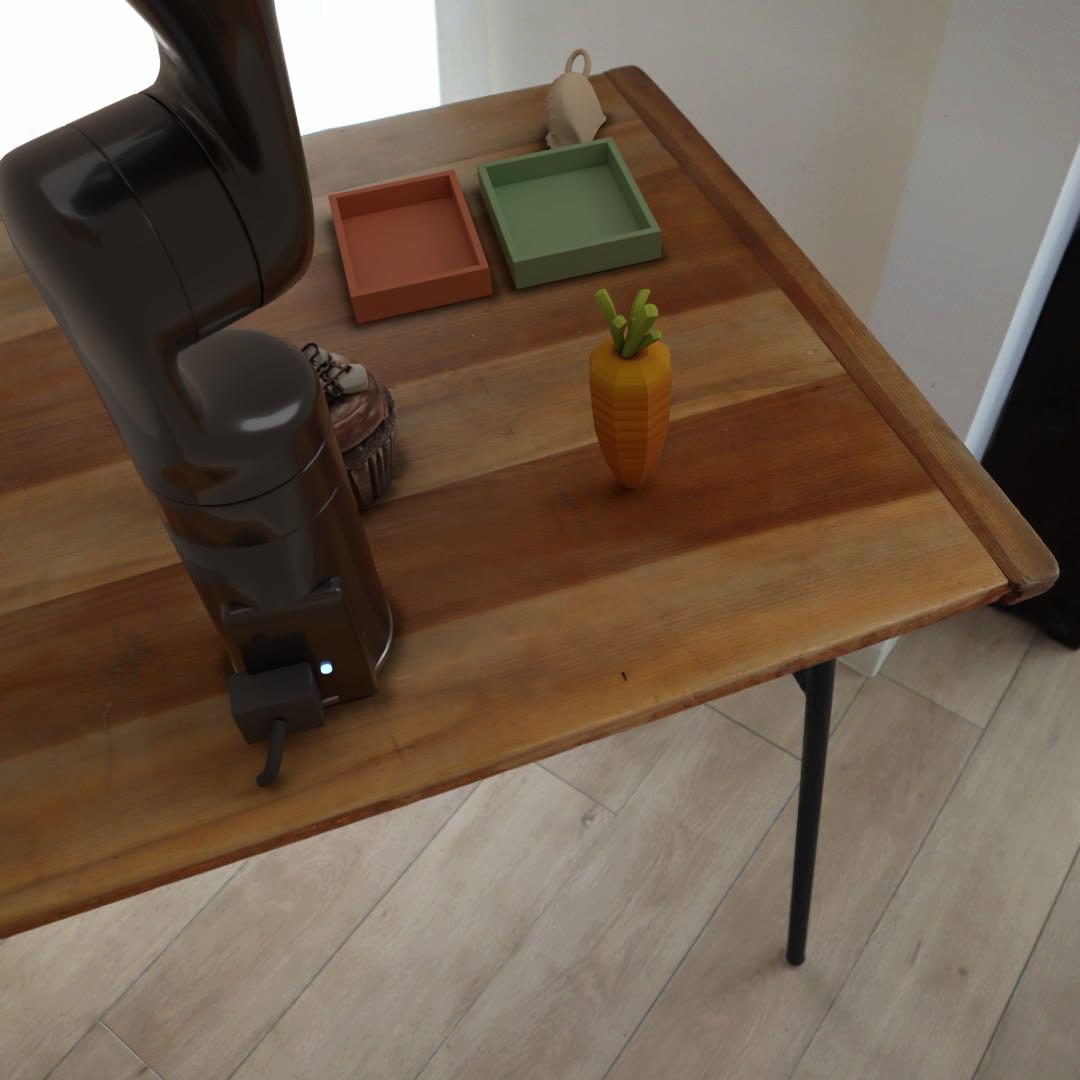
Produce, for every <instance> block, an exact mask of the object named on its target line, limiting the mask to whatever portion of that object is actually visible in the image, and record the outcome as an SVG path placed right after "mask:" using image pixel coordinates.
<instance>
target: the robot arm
mask: <svg viewBox="0 0 1080 1080" xmlns="http://www.w3.org/2000/svg"><path fill="white" fill-rule="evenodd" d="M124 2H126V4H128V6H129V7H131V8H132V10H133V11H134V12H135V13H137V14H138V16H139V17H141V19H143V21H144V22H145V23H146V24H147V25H148V26H149V27H150V29H151V32H152V33H153V37H154V39H155V42H156V46H157V52H158V57H159V58H158V59H159V69H158V74H157V76H156V79H155V80H154V81H153V83H152V84H151V85H149V86H147V87H146V88H145V89H143V90H140V91H138V92H137V93H133V94H131V95H128V96H126V97H124V98H122V99H120V100H118V101H115V102H113V103H111V104H108V105H106V106H104V107H102V108H99V109H97V110H95V111H93V112H89V113H87V114H86V115H84V116H82V117H79V118H76V119H75V120H72V121H69V122H68V123H66V124H65V125H62V126H59V127H56V128H55V129H52V130H51V131H48V132H46V133H44V134H42V135H39V136H37V137H34V138H32V139H31V140H28V141H27V142H24V143H23V144H21V145H19V146H16V147H14V148H13V149H11V150H9V151H8V152H7V153H5V154H4V155H3V156H2V158H0V215H1V219H2V221H3V222H2V223H3V226H4V229H5V230H6V232H7V235H8V237H9V240H10V242H11V244H12V246H13V249H14V250H15V252H16V254H17V256H18V257H19V259H20V261H21V263H22V266H23V267H24V268H25V271H26V272H27V274H28V276H29V278H30V280H31V281H32V283H33V285H34V286H35V288H36V290H37V291H38V293H39V295H40V296H41V298H42V300H43V301H44V303H45V305H46V306H47V308H48V310H49V311H50V312H51V313H50V314H52V316H53V318H54V320H55V321H56V323H57V325H58V326H59V328H60V330H61V331H62V333H63V335H64V336H65V338H66V339H67V341H68V343H69V345H70V347H71V348H72V350H73V352H74V353H75V355H76V357H77V359H78V360H79V362H80V364H81V366H82V367H83V369H84V371H85V373H86V375H87V377H88V379H89V381H90V383H91V384H92V386H93V389H94V390H95V393H96V394H97V396H98V398H99V400H100V403H101V404H102V406H103V407H104V409H105V412H106V413H107V416H108V417H109V419H110V421H111V423H112V425H113V427H114V429H115V430H116V432H117V434H118V436H119V438H120V440H121V442H122V444H123V446H124V448H125V450H126V453H127V454H128V456H129V458H130V460H131V462H132V464H133V466H134V468H135V470H136V473H137V474H138V476H139V478H140V480H141V481H142V484H143V485H144V487H145V490H146V492H147V494H148V496H149V498H150V500H151V502H152V504H153V506H154V507H155V510H156V511H157V512H156V513H157V514H158V516H159V518H160V520H161V522H162V524H163V526H164V528H165V531H166V532H167V534H168V536H169V538H170V540H171V542H172V545H173V547H174V548H175V550H176V552H177V554H178V556H179V558H180V560H181V563H182V564H183V566H184V568H185V570H186V572H187V574H188V577H189V578H190V580H191V583H192V584H193V587H194V588H195V590H196V593H197V594H198V596H199V598H200V600H201V602H202V605H203V606H204V608H205V611H206V612H207V614H208V617H209V619H210V621H211V622H212V624H213V627H214V628H215V631H216V632H217V634H218V637H219V638H220V640H221V642H222V644H223V646H224V648H225V650H226V652H227V654H228V655H229V658H230V660H231V665H232V667H233V670H234V672H235V673H231V674H228V676H227V681H228V692H229V693H228V694H229V704H230V705H229V706H230V715H231V717H232V719H233V721H234V723H235V725H236V726H237V728H238V730H239V732H240V734H241V735H242V737H243V739H244V742H245V744H247V746H249V745H254V744H257V743H261V742H266V741H269V742H268V743H269V744H268V750H267V758H266V762H265V765H264V768H263V771H262V772H260V774H258V775H257V776H256V779H255V783H256V785H257V786H258V787H260V788H267V787H268V786H270V785H271V784H273V783H274V782H275V781H276V780H277V777H278V774H279V771H280V768H281V765H282V759H283V754H284V748H285V747H284V746H285V737H286V736H290V735H293V734H297V733H301V732H305V731H309V730H314V729H317V728H321V727H322V728H323V727H325V726H326V720H325V719H326V718H325V713H324V708H326V707H330V706H333V705H335V704H339V703H343V702H347V701H351V700H355V699H359V698H363V697H368V696H371V695H375V694H376V693H377V692H378V691H379V688H378V687H379V686H378V682H377V681H378V679H377V678H378V677H377V676H378V674H379V673H380V672H381V670H382V669H383V668H384V667H385V664H386V663H387V661H388V659H389V657H390V655H391V653H392V649H393V647H394V642H395V641H394V640H395V622H394V617H393V613H392V610H391V607H390V604H389V602H388V600H387V599H386V596H385V593H384V589H383V586H382V583H381V579H380V575H379V573H378V571H377V567H376V564H375V560H374V558H373V553H372V550H371V547H370V544H369V540H368V538H367V537H368V536H367V533H366V531H365V528H364V527H365V526H364V524H363V521H362V518H361V517H362V516H361V514H360V511H359V510H358V507H357V504H356V500H355V497H354V494H353V490H352V487H351V484H350V480H349V477H348V474H347V470H346V467H345V464H344V460H343V457H342V453H341V449H340V446H339V442H338V439H337V436H336V432H335V429H334V426H333V422H332V419H331V416H330V412H329V409H328V405H327V402H326V398H325V395H324V391H323V388H322V385H321V382H320V379H319V376H318V374H317V371H316V370H315V368H314V366H313V364H312V363H311V362H310V360H309V359H308V358H307V356H306V355H305V354H304V353H303V352H302V351H301V350H300V349H301V348H300V347H298V346H297V345H296V344H295V343H293V342H291V341H289V340H287V339H286V338H284V337H282V336H280V335H278V334H275V333H271V332H270V331H269V332H268V331H265V330H261V329H255V328H247V327H229V326H231V325H233V324H235V323H236V322H238V321H239V320H242V319H244V318H245V317H247V316H249V315H251V314H252V313H255V312H256V311H257V310H259V309H262V308H264V307H266V306H268V305H269V304H271V303H272V302H274V301H276V300H278V299H279V298H280V297H282V296H283V295H284V294H286V293H288V292H289V291H290V290H291V289H292V288H294V286H296V285H297V284H298V283H299V282H300V280H302V279H303V277H304V276H305V275H306V274H307V272H308V270H309V269H310V266H311V262H312V260H313V257H314V251H315V244H316V243H315V242H316V241H315V239H316V224H315V223H316V222H315V210H314V202H313V201H314V200H313V195H312V189H311V183H310V182H311V181H310V177H309V173H308V172H309V171H308V167H307V160H306V155H305V150H304V145H303V141H302V135H301V131H300V126H299V120H298V114H297V110H296V105H295V101H294V95H293V91H292V86H291V80H290V76H289V71H288V65H287V62H286V56H285V50H284V47H283V42H282V36H281V30H280V25H279V20H278V14H277V9H276V2H275V0H124Z"/></svg>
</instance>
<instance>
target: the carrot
mask: <svg viewBox="0 0 1080 1080" xmlns="http://www.w3.org/2000/svg"><path fill="white" fill-rule="evenodd" d="M650 294H651V290H650V289H648V288H642V289H640V290H639V291H638V292H637V295H636V296H635V298H634V300H633V303H632V305H631V309H630V313H629V316H628V320H626V318H625V317H624V316H623V315H622V314H619V315H617V312H616V308H615V305H614V303H613V301H612V299H611V297H610V294H609V293H608V292H607V290H606V288H601V289H599V290H598V291H596V292H595V294H594V297H595V299H596V301H597V303H598V305H599V307H600V309H601V311H602V312H603V315H604V317H605V320H606V322H607V324H608V326H609V331H610V332H609V333H610V335H611V336H609V337H608V338H606V339H605V340H603V341H602V342H601V343H599V344H598V345H596V346H595V347H593V348H592V349H591V350H590V353H589V374H588V375H589V378H588V380H589V384H588V385H589V392H590V405H591V412H592V419H593V426H594V427H593V428H594V431H595V435H596V438H597V442H598V446H599V448H600V451H601V453H602V454H601V455H602V456H603V458H604V461H605V463H606V465H607V466H608V468H609V470H610V471H611V472H612V474H613V475H614V476H615V477H616V479H618V481H620V482H621V484H623V485H624V486H625V487H626V488H627V489H629V490H630V489H638V488H640V486H642V485H644V483H645V482H646V480H647V479H648V478H649V477H650V475H651V474H652V473H653V472H654V470H655V468H656V467H657V465H658V463H659V461H660V459H661V456H662V453H663V450H664V447H665V444H666V440H667V435H668V430H669V428H670V427H669V426H670V416H671V415H670V414H671V406H672V405H671V403H672V402H671V401H672V382H673V381H672V377H673V376H672V361H671V360H672V359H671V352H670V349H669V347H668V346H667V345H666V344H664V343H662V342H661V341H659V340H661V339H662V338H663V334H662V332H661V331H659V330H652V331H650V329H652V326H653V325H654V324H655V322H656V321H657V320H658V317H659V308H657V306H656V304H652V303H647V304H646V302H647V300H648V297H649V296H650ZM626 327H627V332H625V330H626ZM649 331H650V332H649Z"/></svg>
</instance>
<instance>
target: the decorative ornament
mask: <svg viewBox="0 0 1080 1080" xmlns="http://www.w3.org/2000/svg"><path fill="white" fill-rule="evenodd" d="M579 56H582V57H583V59H584V66H583V70H582V72H581V73H580V72H577V71H572V68H573V65H574V62H575V60H576V59H577V57H579ZM591 72H592V58H591V55H590V53H589V52H588V51H587V49H585V48H583V47H582V48H576V49H574V50H573V51H572V52H571V53H570V55H569V57H568V58H567V60H566V63H565V67H564V73H561V74H560V75H559V76H558V77H556V78H555V79H553V81H552V82H551V85H550V86H549V88H548V90H547V92H546V93H547V94H546V98H545V105H544V118H545V124H546V127H547V131H548V134H547V135H546V137H545V141H546V145H547V147H548V148H550V149H555V148H560V147H565V146H569V145H574V144H579V143H584V142H589V141H594V140H593V139H594V137H595V136H596V134H597V132H598V131H599V129H600V127H601V126H602V125H603V124H604V122H606V121H607V117H606V116H605V114H603V109H602V107H601V104H600V101H599V98H598V96H597V93H596V91H595V89H594V87H593V85H592V83H591V82H590V80H589V78H590V75H591Z"/></svg>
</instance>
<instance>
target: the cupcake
mask: <svg viewBox="0 0 1080 1080" xmlns="http://www.w3.org/2000/svg"><path fill="white" fill-rule="evenodd" d="M299 349H300V350H301V351H302V352H303V353H304V354H305V355H306V356H307V358H308V359H309V360H310V362H311V363H312V364H313V366H314V368H315V370H316V371H317V374H318V376H319V379H320V382H321V385H322V388H323V391H324V395H325V398H326V402H327V405H328V409H329V412H330V416H331V419H332V422H333V426H334V429H335V432H336V436H337V439H338V442H339V446H340V449H341V453H342V457H343V460H344V464H345V467H346V470H347V474H348V477H349V480H350V484H351V487H352V490H353V494H354V497H355V500H356V504H357V507H358V510H359V512H361V511H364V510H366V509H367V508H368V507H370V506H371V505H373V503H374V501H376V500H378V499H380V498H381V497H382V496H383V495H384V494H385V493H386V492H387V491H388V490H390V488H391V486H392V483H393V480H394V478H395V476H396V474H397V436H398V420H397V418H398V411H397V410H398V409H397V407H396V399H394V394H392V393H391V391H390V390H389V389H388V388H387V386H386V385H385V384H384V383H383V382H382V381H381V379H380V378H379V375H378V374H376V373H375V372H374V371H373V370H372V369H371V368H369V367H367V366H366V365H364V364H363V363H360V362H359V361H356V360H355V359H352V358H350V357H347V356H345V355H343V354H340V353H336V352H330V351H329V352H328V351H326V350H325V349H323V348H321V347H319V346H318V344H316V343H315V342H308V343H306V344H304V346H302V347H301V348H299Z"/></svg>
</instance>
